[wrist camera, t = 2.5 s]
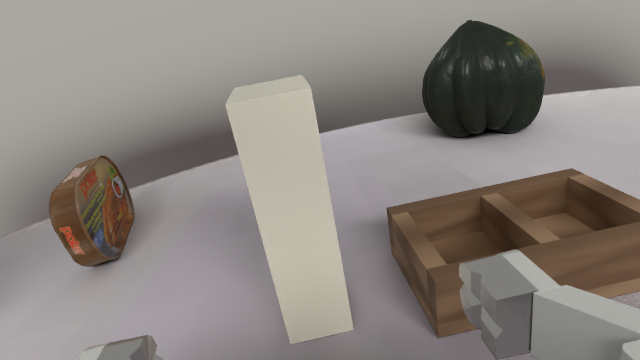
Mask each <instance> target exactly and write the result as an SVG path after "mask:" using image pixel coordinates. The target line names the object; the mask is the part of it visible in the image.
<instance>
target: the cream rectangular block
mask: <svg viewBox="0 0 640 360" xmlns="http://www.w3.org/2000/svg"><path fill="white" fill-rule="evenodd" d="M225 105H226V109H227V112H228V116H229V120H230V124H231V127H232V131H233V134H234V138H235V142H236V146H237V149H238V153H239V157H240V160H241V164H242V168H243V171H244V175H245V179H246V182H247V186H248V190H249V194H250V197H251V201H252V205H253V208H254V212H255V216H256V219H257V223H258V227H259V230H260V234H261V238H262V241H263V245H264V249H265V252H266V256H267V260H268V263H269V267H270V271H271V275H272V278H273V282H274V286H275V289H276V293H277V297H278V300H279V304H280V308H281V311H282V315H283V319H284V322H285V326H286V330H287V333H288V337H289V341H290V344H295V343H299V342H304V341H308V340H313V339H317V338H321V337H326V336H330V335H334V334H339V333H343V332H347V331H352V330H354V328H353V322H352V317H351V311H350V305H349V300H348V294H347V288H346V283H345V277H344V272H343V266H342V260H341V255H340V249H339V243H338V238H337V232H336V227H335V221H334V215H333V210H332V204H331V199H330V193H329V187H328V182H327V176H326V170H325V165H324V159H323V154H322V148H321V142H320V137H319V132H318V126H317V120H316V114H315V109H314V103H313V97H312V92H311V87H310V86H309V85H308V83H307V82H306V80H305V79H304V77H303V76H302V75H299V76H294V77H289V78H284V79H279V80H273V81H268V82H263V83H258V84H253V85H248V86H242V87H237V88H234V90H233V92H232V93H231V95H230V97H229V99H228V101H227V103H226V104H225Z"/></svg>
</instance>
